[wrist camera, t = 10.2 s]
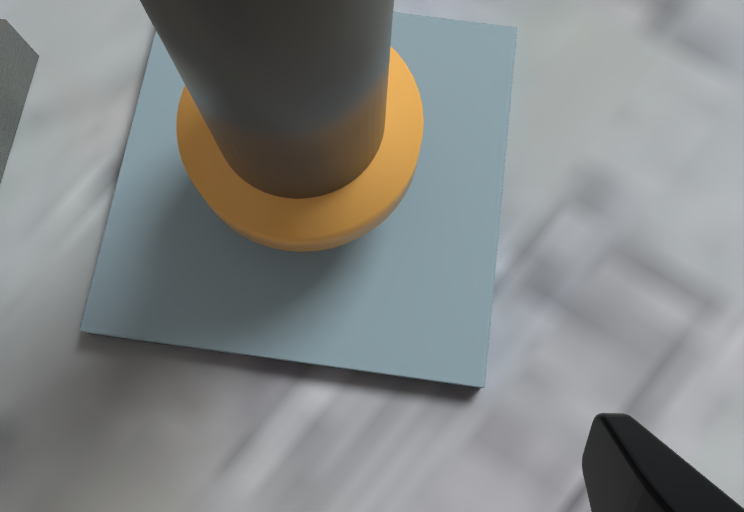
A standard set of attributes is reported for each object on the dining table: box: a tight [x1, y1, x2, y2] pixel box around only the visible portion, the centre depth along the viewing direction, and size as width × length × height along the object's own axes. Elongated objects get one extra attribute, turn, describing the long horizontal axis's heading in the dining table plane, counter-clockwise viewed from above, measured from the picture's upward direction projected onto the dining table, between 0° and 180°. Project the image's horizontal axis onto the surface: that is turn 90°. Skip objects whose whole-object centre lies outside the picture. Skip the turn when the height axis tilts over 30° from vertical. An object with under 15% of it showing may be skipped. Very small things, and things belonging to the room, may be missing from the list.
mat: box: [79, 12, 517, 388], centre depth 20 cm, size 12×12×1 cm
